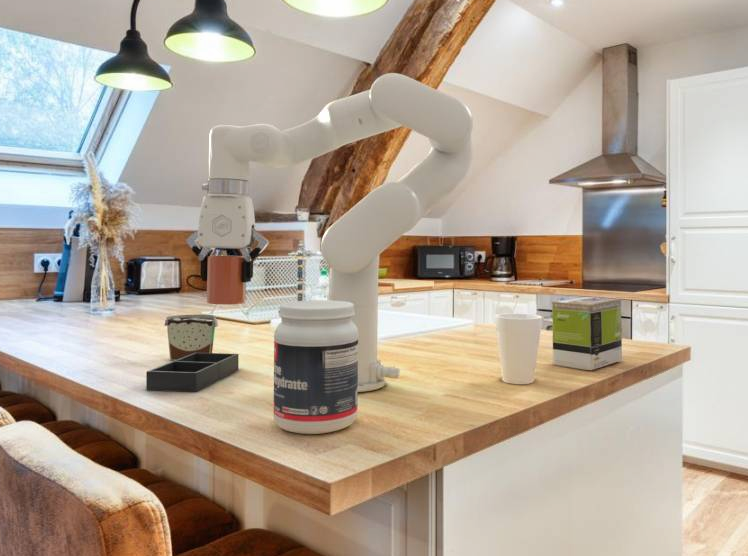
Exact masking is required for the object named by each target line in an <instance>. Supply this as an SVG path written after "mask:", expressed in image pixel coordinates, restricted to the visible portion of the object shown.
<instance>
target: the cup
mask: <svg viewBox="0 0 748 556" xmlns="http://www.w3.org/2000/svg"><path fill="white" fill-rule="evenodd" d="M242 262H244V257H243V255H211V256H208V259H207V281H206V304H208V305H209V304H210V305H225V306H226V305H241V304H246V299H247V298H246V297H247V296H246V291H247V282H242Z"/></svg>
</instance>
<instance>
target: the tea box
mask: <svg viewBox="0 0 748 556" xmlns="http://www.w3.org/2000/svg"><path fill="white" fill-rule="evenodd" d="M551 305H552V306H551V307H552V308H551V310H552V313H551V317H552V323H551V324H552V326H551V327H552V329H551V330H552V365H554V366H557V367H558V366H559V367H564V368H569V369H570V368H571V369H577V370H583V371H595V370H597V369H600V368H602V367H606V366H610V365H612V364H616V363H619V362H622V361H623V342H622V341H623V334H622V333H623V332H622V330H623V329H622V328H623V327H622V299H621V298H607V297H597V296H596V297H593V296H580V297H573V298H568V299H562V300H556V301H552V304H551Z"/></svg>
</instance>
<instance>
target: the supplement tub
mask: <svg viewBox="0 0 748 556" xmlns="http://www.w3.org/2000/svg"><path fill="white" fill-rule="evenodd" d="M354 315H355V313H354V304H353V303H350V302H344V301H329V299H328V300H325V299H324V300H316V299H315V300H295V301H287V302H283V303H281V304H279V313H278V316H279V317H280V318H281V322H280V323H279V324H278V325H277V326H276V328H275V330H274V334H273V404H272V405H273V410H272V411H273V413H272V417H273V421H274V422H275V424H276V425H277V426H278V427H279V428H280V429H282V430H284V431H287V432H291V433H296V434H301V435H321V434H327V433H333V432H337V431H340V430H343V429H345V428H348V427H350V426H351V425H352V424H353V423H354V422H355V421H356V420H357V417H358V404H359V403H358V402H359V400H358V397H359V395H358V393H359V392H358V336H359V334H358V329H357V327H356V325H355V324H354V323H353V322H352V316H354Z"/></svg>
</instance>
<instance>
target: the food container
mask: <svg viewBox="0 0 748 556" xmlns="http://www.w3.org/2000/svg"><path fill="white" fill-rule="evenodd" d="M218 322H219V321H218V319H217V317H216V315H212V314H177V315H170V316H166V319H165V320H164V327H166V329H167V340H168V341H167V342H168V350H169V361H170V362H172V361H175V360H177V359H180V358H183V357H185V356H188V355H190V354H193V353H213V351H214V350H213V349H214V340H215V339H214V338H215V332H216V331H215V330H216V327H219V323H218Z"/></svg>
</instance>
